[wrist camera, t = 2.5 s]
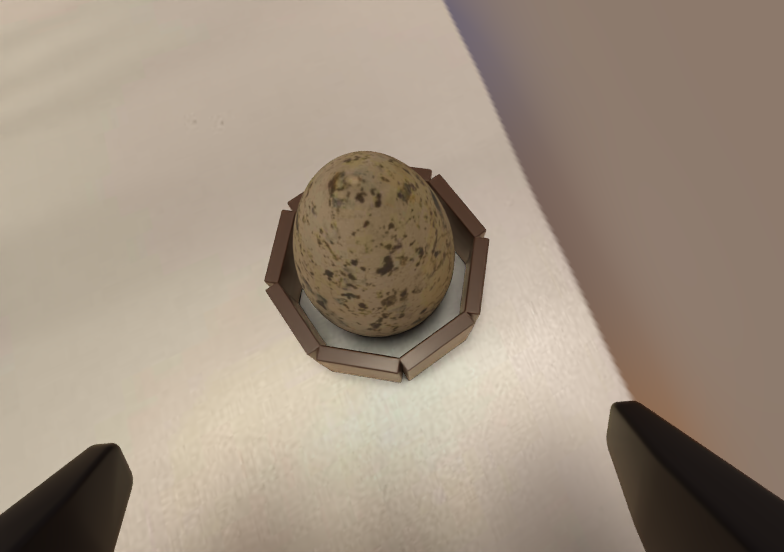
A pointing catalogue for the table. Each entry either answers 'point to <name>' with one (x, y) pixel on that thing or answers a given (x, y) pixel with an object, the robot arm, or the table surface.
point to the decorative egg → (372, 245)
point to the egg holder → (371, 365)
